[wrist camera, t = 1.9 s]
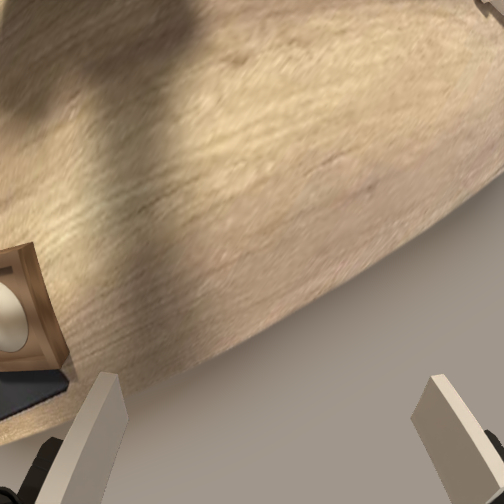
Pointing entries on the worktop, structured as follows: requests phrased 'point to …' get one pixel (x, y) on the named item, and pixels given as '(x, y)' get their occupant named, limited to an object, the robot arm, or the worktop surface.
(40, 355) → the wooden coaster holder
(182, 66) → the worktop surface
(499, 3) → the white circle with bar
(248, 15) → the worktop surface
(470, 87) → the worktop surface
